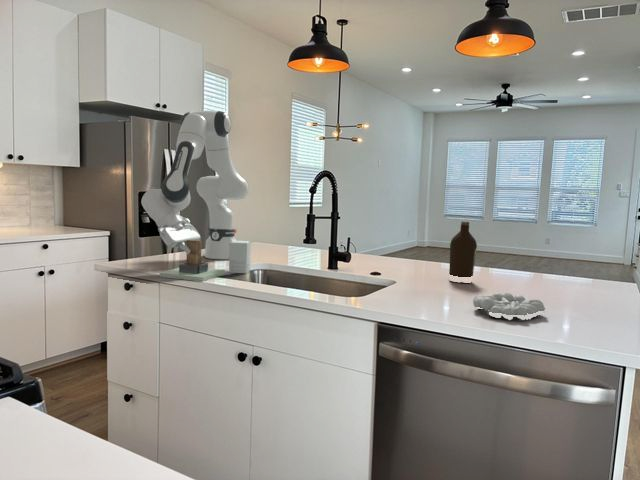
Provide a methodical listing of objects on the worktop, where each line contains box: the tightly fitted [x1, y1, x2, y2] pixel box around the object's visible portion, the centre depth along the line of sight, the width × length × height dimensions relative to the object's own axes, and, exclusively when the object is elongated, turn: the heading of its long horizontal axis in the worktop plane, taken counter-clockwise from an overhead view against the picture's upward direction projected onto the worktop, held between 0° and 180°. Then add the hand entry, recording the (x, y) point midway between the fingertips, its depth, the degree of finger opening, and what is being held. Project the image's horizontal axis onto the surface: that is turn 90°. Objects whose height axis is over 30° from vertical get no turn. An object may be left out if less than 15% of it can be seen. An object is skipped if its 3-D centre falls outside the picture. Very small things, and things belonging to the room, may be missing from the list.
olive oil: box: [448, 221, 478, 277], centre depth 205 cm, size 11×11×25 cm
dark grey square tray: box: [178, 261, 209, 274], centre depth 192 cm, size 8×8×3 cm
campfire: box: [472, 292, 546, 316], centre depth 155 cm, size 22×21×6 cm
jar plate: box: [159, 267, 226, 282], centre depth 192 cm, size 18×18×2 cm
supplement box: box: [228, 240, 252, 274], centre depth 204 cm, size 7×7×13 cm
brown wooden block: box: [185, 239, 203, 266], centre depth 191 cm, size 4×4×10 cm
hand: (193, 252), depth 191 cm, fingers closed on brown wooden block, 4 cm apart
